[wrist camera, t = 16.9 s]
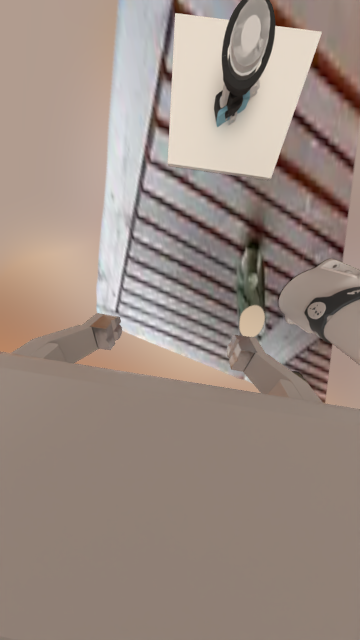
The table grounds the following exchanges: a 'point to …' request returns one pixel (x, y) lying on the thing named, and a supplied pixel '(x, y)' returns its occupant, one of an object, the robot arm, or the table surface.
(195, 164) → the board
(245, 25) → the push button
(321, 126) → the table surface
